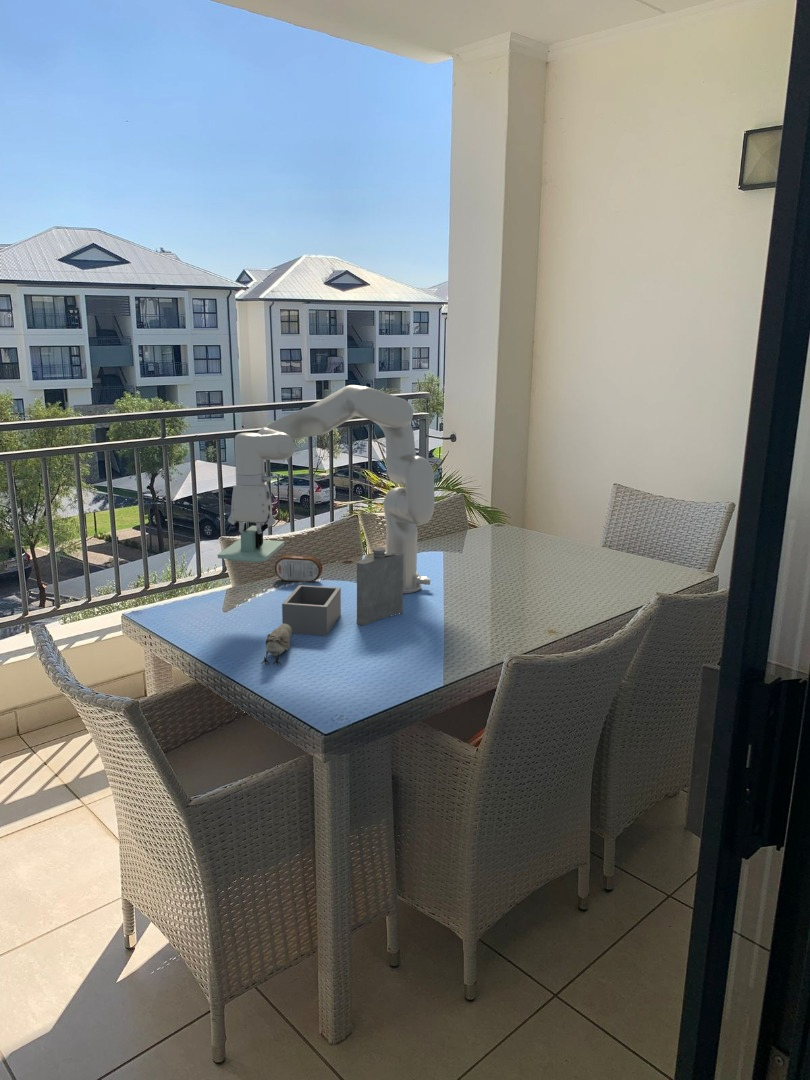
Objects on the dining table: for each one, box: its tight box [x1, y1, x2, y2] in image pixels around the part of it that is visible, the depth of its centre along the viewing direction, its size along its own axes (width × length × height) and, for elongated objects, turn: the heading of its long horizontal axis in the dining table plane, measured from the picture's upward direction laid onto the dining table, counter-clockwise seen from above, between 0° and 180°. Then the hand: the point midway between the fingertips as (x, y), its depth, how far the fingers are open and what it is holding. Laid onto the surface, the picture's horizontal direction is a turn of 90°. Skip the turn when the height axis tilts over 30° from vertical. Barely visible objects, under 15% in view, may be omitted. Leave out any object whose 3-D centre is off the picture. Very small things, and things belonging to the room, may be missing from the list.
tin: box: [274, 554, 323, 583], centre depth 249 cm, size 15×3×8 cm, turn 84°
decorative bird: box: [260, 623, 293, 666], centre depth 194 cm, size 5×16×7 cm, turn 174°
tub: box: [281, 584, 342, 637], centre depth 214 cm, size 12×16×8 cm
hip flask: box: [356, 546, 404, 626], centre depth 218 cm, size 16×4×20 cm, turn 133°
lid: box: [217, 525, 286, 563], centre depth 213 cm, size 13×17×7 cm
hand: (252, 545), depth 214 cm, fingers closed on lid, 3 cm apart
